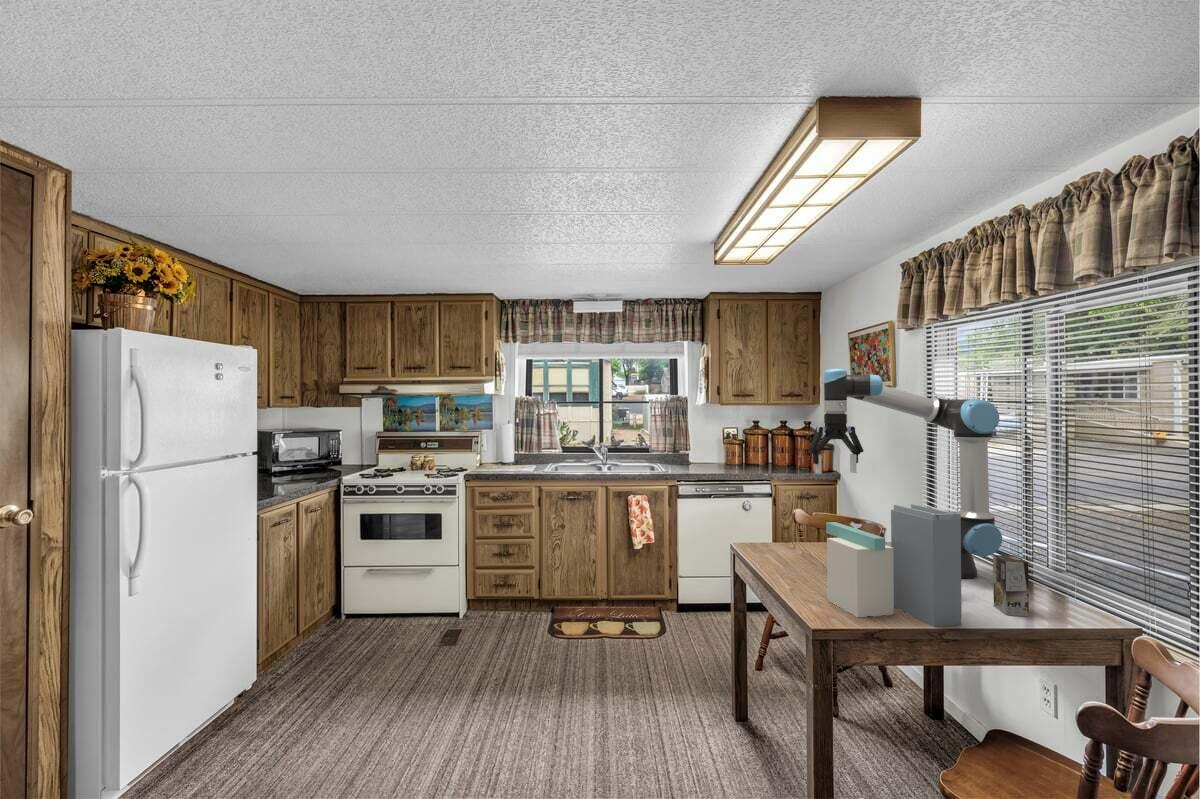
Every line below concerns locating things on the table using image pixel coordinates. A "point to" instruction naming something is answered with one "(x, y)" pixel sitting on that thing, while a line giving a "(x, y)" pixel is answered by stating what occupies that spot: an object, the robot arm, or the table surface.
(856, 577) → the beige tall block
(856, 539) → the lid bar
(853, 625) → the table surface
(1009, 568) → the coffee box
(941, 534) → the tall grey bin
